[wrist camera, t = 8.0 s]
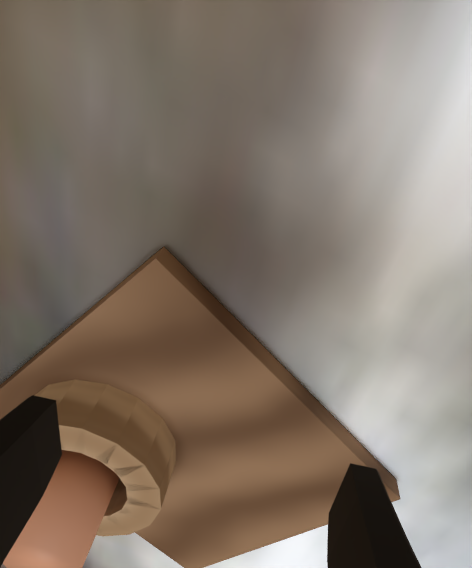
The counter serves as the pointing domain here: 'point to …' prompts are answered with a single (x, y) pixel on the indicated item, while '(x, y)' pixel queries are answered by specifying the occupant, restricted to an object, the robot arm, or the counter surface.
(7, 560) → the peg
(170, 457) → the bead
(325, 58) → the counter surface
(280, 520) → the board
